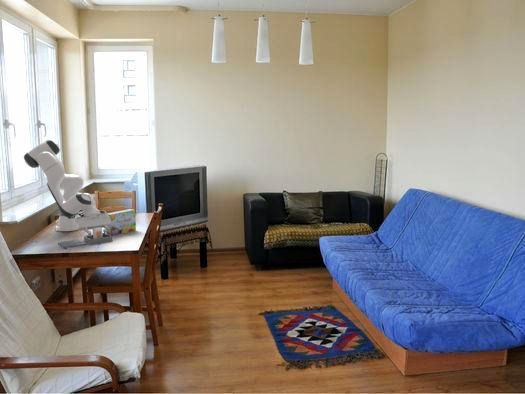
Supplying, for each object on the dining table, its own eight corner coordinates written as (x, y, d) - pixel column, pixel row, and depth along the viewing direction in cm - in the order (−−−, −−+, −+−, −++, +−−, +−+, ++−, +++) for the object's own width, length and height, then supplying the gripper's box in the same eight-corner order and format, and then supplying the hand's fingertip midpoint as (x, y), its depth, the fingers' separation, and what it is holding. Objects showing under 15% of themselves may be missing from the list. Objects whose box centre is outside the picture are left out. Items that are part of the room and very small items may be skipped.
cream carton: (93, 240, 284) (92, 228, 283) (100, 239, 286) (99, 227, 285) (95, 242, 280) (94, 229, 279) (103, 241, 283) (102, 228, 281)
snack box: (111, 237, 296) (110, 214, 294) (106, 236, 299) (104, 213, 297) (136, 230, 314) (135, 209, 311) (131, 229, 317) (129, 208, 314)
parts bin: (84, 241, 285) (83, 235, 284) (105, 238, 293) (105, 232, 292) (90, 245, 274) (90, 239, 274) (112, 242, 282) (112, 236, 281)
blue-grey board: (58, 243, 280) (58, 242, 280) (78, 240, 287) (78, 239, 287) (64, 249, 267) (64, 247, 267) (85, 245, 274) (85, 244, 274)
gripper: (75, 214, 280) (81, 232, 274) (108, 210, 292) (114, 228, 286) (74, 220, 284) (79, 238, 278) (106, 216, 296) (112, 233, 290)
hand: (97, 233), depth 282 cm, fingers open, 8 cm apart
